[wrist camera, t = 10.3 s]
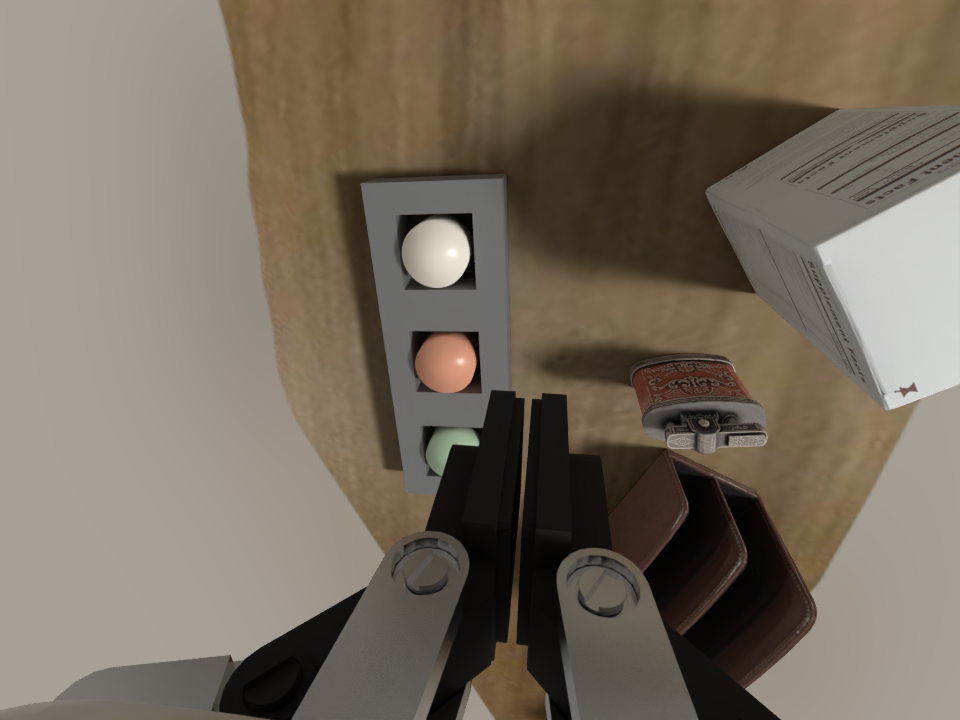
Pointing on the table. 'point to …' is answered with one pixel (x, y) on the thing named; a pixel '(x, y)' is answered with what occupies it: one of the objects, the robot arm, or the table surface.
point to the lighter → (697, 403)
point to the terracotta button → (447, 360)
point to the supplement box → (860, 243)
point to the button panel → (439, 306)
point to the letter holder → (714, 565)
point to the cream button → (437, 250)
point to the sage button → (449, 444)
